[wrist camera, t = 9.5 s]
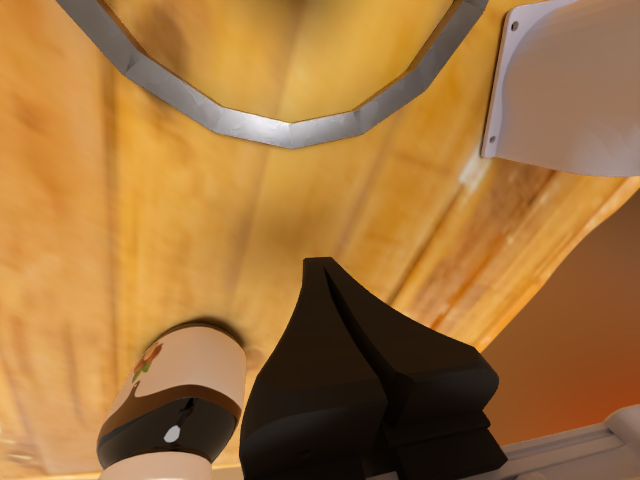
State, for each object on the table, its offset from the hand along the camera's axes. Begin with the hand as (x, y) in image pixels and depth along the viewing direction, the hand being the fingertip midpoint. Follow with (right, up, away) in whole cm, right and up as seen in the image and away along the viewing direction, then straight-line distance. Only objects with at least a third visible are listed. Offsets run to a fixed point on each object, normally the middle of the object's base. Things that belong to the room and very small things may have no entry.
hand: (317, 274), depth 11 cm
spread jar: (-13, -11, +15) cm, 23 cm away
